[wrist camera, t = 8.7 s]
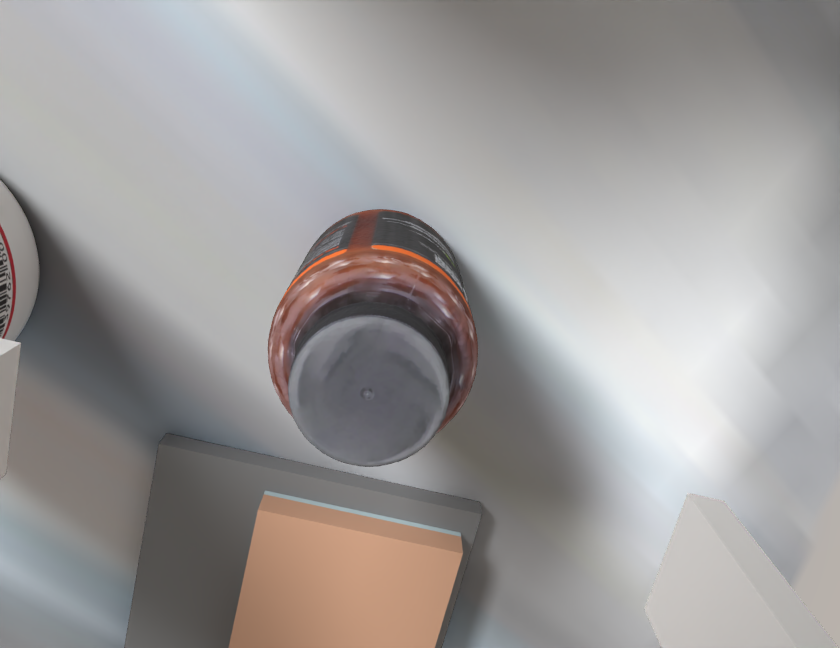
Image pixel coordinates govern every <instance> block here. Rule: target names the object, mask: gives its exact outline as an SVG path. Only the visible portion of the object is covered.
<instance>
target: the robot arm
mask: <svg viewBox="0 0 840 648" xmlns="http://www.w3.org/2000/svg"><path fill="white" fill-rule="evenodd" d="M20 350H21V343H20V342H15V341H11V340H6V339H2V338H0V479H1V478H2V477H3V476H4V475H5V474H6V470H7V461H8V453H9V444H10V436H11V427H12V418H13V410H14V401H15V393H16V384H17V375H18V367H19V358H20ZM644 610H645V613H646V615H647V617H648V619H649V621H650V623H651V626H652V628H653V630H654V632H655V634H656V637H657V639H658V641H659V643H660V645H661V648H839V647H838V646H837V645H836V643H835V642H834V641H833V640H832V639H831V637H830V636H829V634H828V633H827V632H826V631H825V629H824V628H823V627H822V625H821V624H820V623H819V622H818V621H817V619H816V618H815V617H814V615H813V614H812V613H811V611H810V610H809V609H808V608H807V606H806V605H805V604H804V602H803V601H802V600H801V599H800V597H799V596H798V595H797V594H796V592H795V591H794V590H793V588H792V587H791V586H790V585H789V583H788V582H787V581H786V579H785V578H784V577H783V576H782V574H781V573H780V572H779V571H778V569H777V568H776V567H775V565H774V564H773V563H772V562H771V560H770V559H769V558H768V556H767V555H766V554H765V553H764V551H763V550H762V549H761V548H760V546H759V545H758V544H757V542H756V541H755V540H754V539H753V537H752V536H751V535H750V533H749V532H748V531H747V530H746V528H745V527H744V526H743V525H742V523H741V522H740V521H739V519H738V518H737V517H736V516H735V514H734V513H733V512H732V510H731V509H730V508H729V507H728V505H727V504H726V503H725V502H724V501H722V500H717V499H713V498H709V497H704V496H700V495H695V494H691V493H688V494H687V496H686V499H685V502H684V504H683V507H682V510H681V512H680V515H679V518H678V520H677V523H676V526H675V528H674V531H673V534H672V536H671V539H670V542H669V544H668V547H667V550H666V552H665V555H664V558H663V560H662V563H661V566H660V568H659V571H658V574H657V576H656V579H655V582H654V584H653V587H652V590H651V592H650V595H649V598H648V600H647V603H646V606H645V608H644Z"/></svg>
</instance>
